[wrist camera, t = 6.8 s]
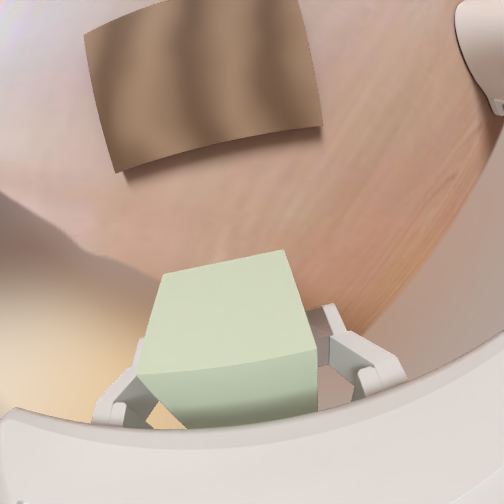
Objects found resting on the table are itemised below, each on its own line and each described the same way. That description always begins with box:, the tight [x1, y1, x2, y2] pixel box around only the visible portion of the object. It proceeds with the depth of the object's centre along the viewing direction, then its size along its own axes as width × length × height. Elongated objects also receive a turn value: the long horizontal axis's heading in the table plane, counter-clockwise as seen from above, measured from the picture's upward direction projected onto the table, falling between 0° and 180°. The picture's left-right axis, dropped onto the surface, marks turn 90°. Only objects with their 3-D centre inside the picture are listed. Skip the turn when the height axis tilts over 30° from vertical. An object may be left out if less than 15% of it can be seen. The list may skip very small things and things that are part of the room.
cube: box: [136, 250, 318, 429], centre depth 10 cm, size 5×5×5 cm
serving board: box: [84, 0, 323, 173], centre depth 17 cm, size 18×14×2 cm
